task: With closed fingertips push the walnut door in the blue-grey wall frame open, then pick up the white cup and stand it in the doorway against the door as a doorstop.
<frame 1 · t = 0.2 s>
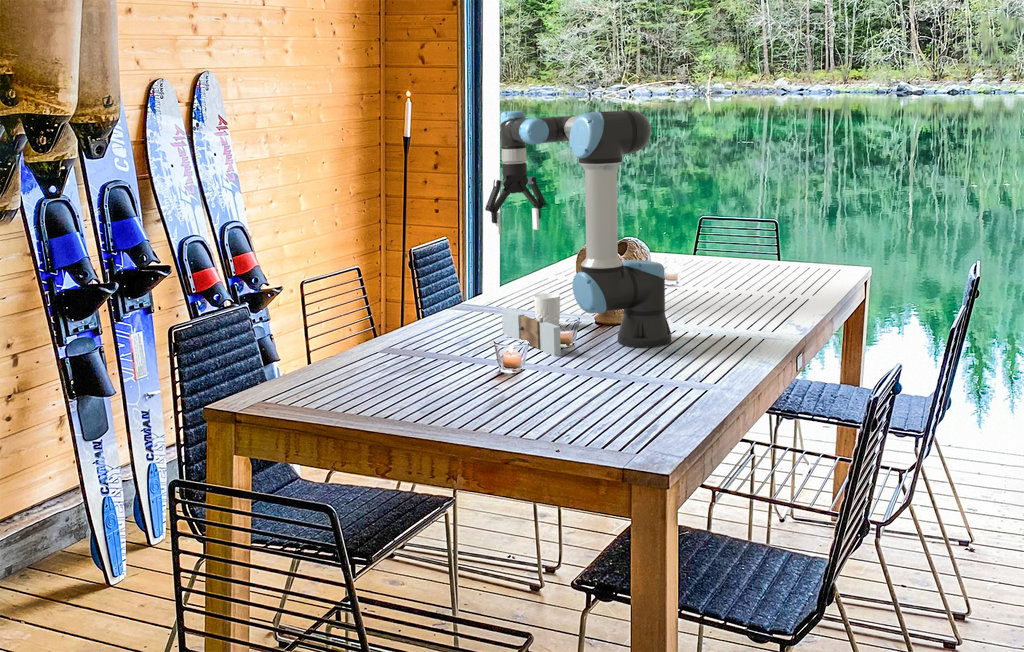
hand: (517, 231, 344), 28 cm above the table, fingers open, 13 cm apart
wall frame: (532, 345, 314), on the table
white cup: (548, 328, 336), on the table
door: (529, 331, 314), point 4 cm above the table, hinge at 0.0°
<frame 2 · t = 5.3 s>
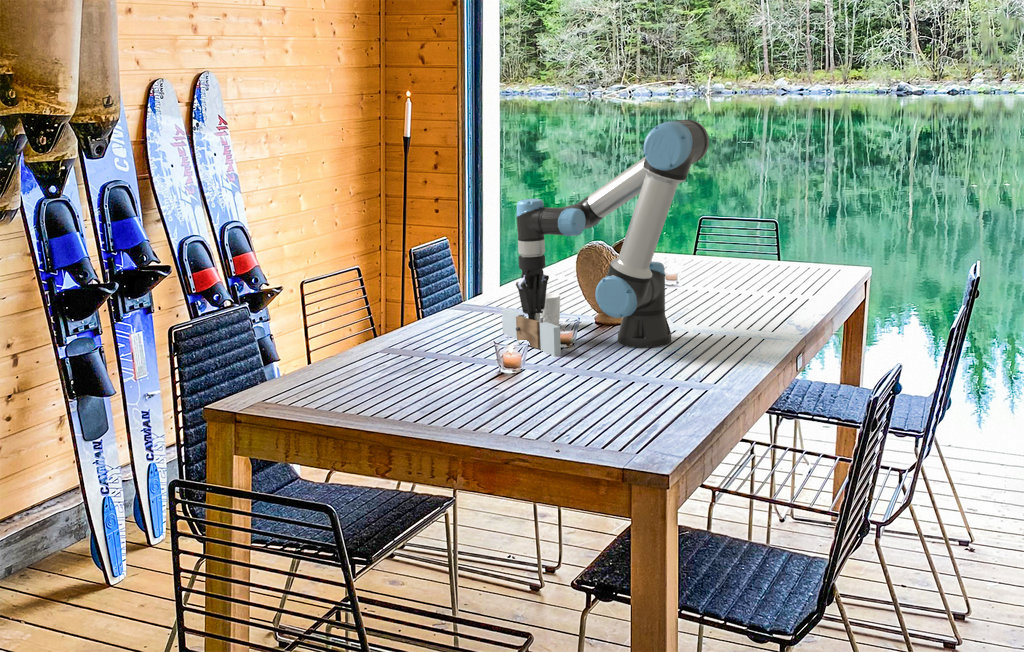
hand: (534, 335, 317), 2 cm above the table, fingers closed
door: (526, 332, 313), point 4 cm above the table, hinge at 7.5°, touching gripper
everything else where it was.
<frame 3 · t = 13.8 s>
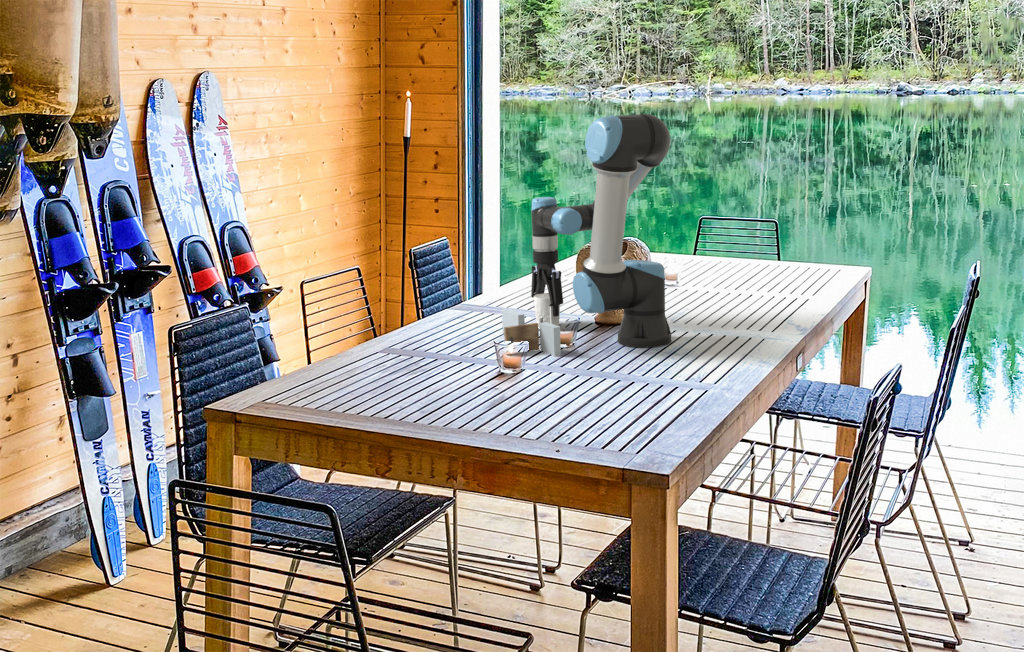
hand: (547, 324, 336), 1 cm above the table, fingers closed on white cup, 8 cm apart
white cup: (547, 328, 336), on the table, touching gripper
door: (522, 339, 306), point 4 cm above the table, hinge at 86.8°
when the fingers open (3 cm above the table, at t = 19.3 s): white cup drops 1 cm, on the table.
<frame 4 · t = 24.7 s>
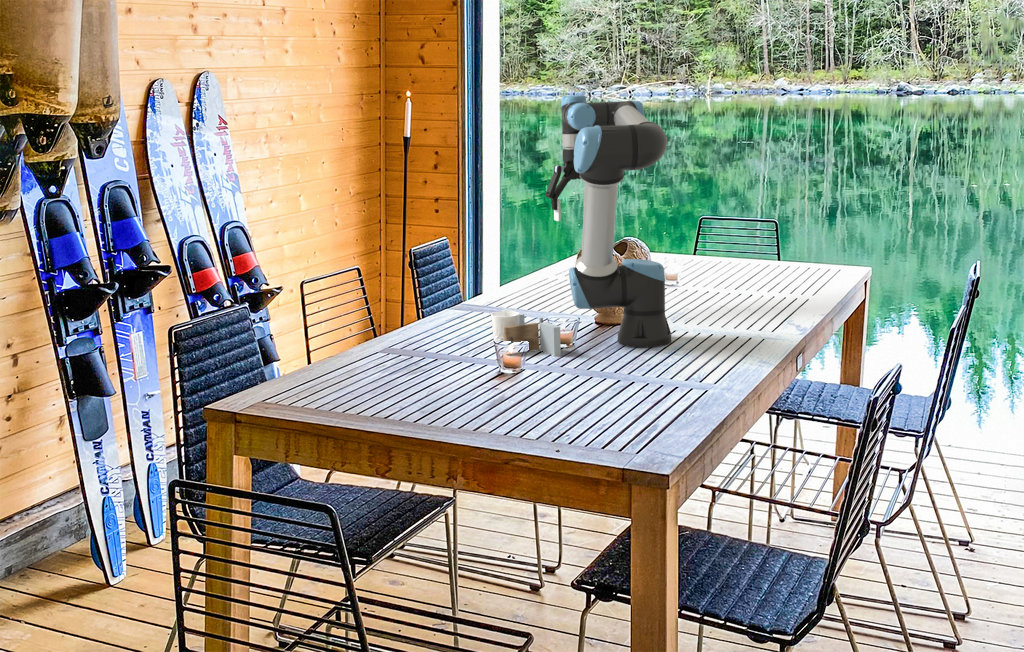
hand: (576, 218, 337), 32 cm above the table, fingers open, 13 cm apart
white cup: (506, 349, 313), on the table
everything else where it was.
at the end: door at +87° (first picture: +0°); white cup inside the target area (0.3 cm from its centre), on the table; white cup tilted 0° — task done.
